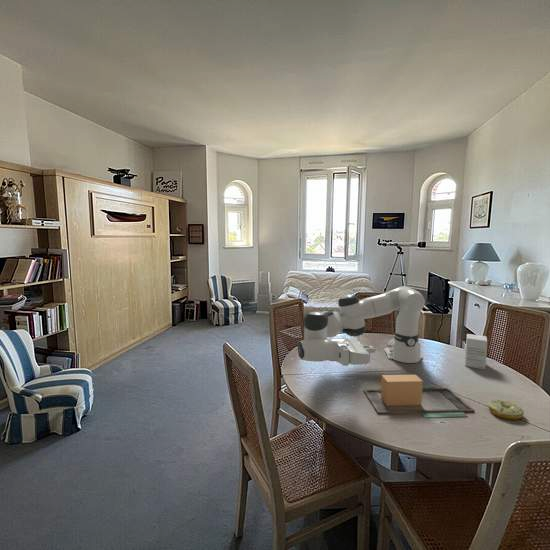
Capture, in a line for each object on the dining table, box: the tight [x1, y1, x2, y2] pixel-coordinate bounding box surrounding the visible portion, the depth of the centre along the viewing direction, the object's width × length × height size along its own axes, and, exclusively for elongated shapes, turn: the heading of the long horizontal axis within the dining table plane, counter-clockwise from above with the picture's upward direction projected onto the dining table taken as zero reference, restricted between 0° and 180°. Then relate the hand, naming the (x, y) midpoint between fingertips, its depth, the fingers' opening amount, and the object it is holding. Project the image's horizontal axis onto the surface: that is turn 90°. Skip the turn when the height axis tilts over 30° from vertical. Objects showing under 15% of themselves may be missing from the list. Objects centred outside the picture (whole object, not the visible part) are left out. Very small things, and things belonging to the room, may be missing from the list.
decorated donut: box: [487, 399, 525, 421], centre depth 120 cm, size 10×11×4 cm
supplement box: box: [464, 333, 488, 370], centre depth 165 cm, size 9×9×15 cm
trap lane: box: [363, 385, 476, 419], centre depth 130 cm, size 24×37×1 cm, turn 91°
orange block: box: [380, 374, 423, 407], centre depth 129 cm, size 6×14×10 cm, turn 91°
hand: (374, 349), depth 126 cm, fingers closed
